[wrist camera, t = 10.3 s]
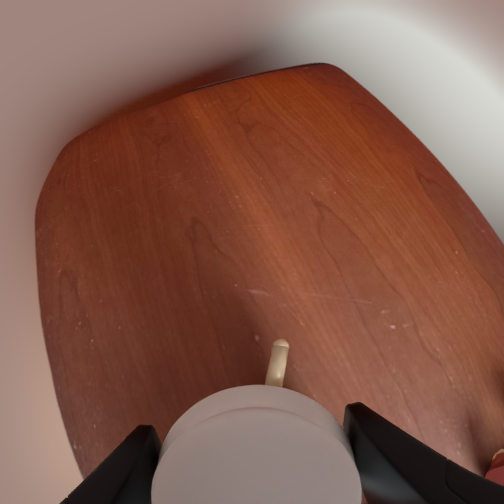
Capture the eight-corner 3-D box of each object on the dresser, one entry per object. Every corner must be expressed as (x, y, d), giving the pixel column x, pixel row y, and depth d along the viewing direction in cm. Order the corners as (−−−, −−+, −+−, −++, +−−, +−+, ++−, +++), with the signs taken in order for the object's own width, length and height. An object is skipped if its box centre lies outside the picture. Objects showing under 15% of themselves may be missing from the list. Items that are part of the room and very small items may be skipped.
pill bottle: (222, 512, 11) (176, 620, 3) (184, 417, 14) (79, 409, 5) (329, 475, 12) (427, 541, 3) (289, 381, 14) (337, 326, 6)
